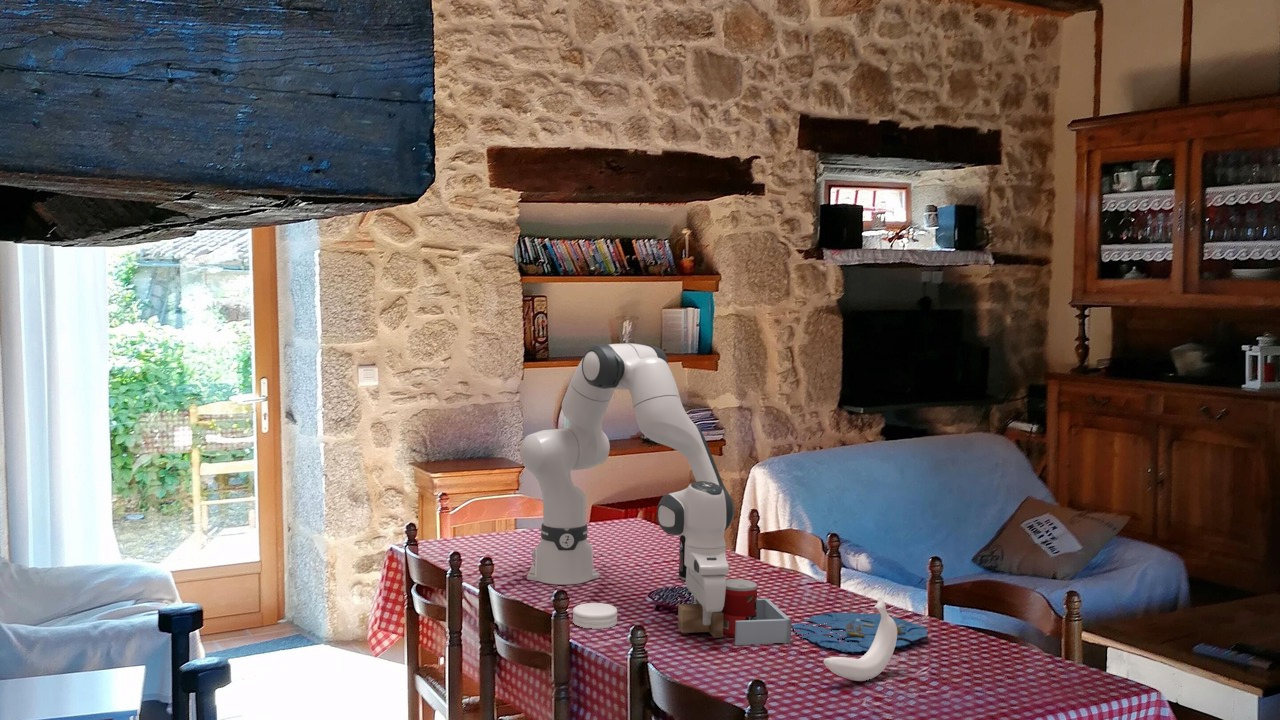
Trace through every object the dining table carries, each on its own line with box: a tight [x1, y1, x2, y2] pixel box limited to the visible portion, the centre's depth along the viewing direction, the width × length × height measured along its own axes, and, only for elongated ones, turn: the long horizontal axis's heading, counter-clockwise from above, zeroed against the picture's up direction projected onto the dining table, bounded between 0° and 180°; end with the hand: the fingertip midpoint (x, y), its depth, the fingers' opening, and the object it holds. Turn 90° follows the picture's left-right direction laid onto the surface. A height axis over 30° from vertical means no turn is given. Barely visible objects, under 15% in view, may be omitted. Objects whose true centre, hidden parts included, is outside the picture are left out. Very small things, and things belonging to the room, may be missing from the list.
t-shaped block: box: [677, 603, 724, 639], centre depth 234 cm, size 8×12×5 cm, turn 11°
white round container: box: [572, 602, 618, 630], centre depth 240 cm, size 10×10×4 cm
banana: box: [823, 596, 897, 682], centre depth 207 cm, size 5×19×15 cm, turn 132°
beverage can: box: [678, 535, 687, 582], centre depth 280 cm, size 7×7×12 cm
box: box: [734, 598, 792, 646], centre depth 236 cm, size 17×12×5 cm
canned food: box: [721, 578, 758, 639], centre depth 235 cm, size 8×8×11 cm
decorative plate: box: [791, 612, 929, 654], centre depth 236 cm, size 30×30×5 cm
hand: (703, 620), depth 234 cm, fingers closed on t-shaped block, 4 cm apart
